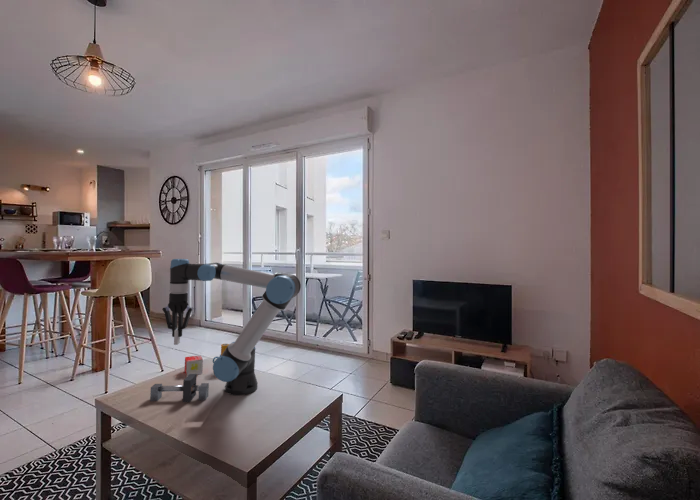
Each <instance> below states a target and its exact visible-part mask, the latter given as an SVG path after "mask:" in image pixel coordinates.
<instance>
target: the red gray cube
mask: <svg viewBox="0 0 700 500" xmlns="http://www.w3.org/2000/svg"><path fill="white" fill-rule="evenodd" d="M203 365H204V359H203V357H202V355H200V354H199V355H191V356H190V355H189V356H185V357H184V373H185V374H184V375H185V377H187V376H188V375H189V374H197V375H202V374H203V367H204V366H203Z"/></svg>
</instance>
